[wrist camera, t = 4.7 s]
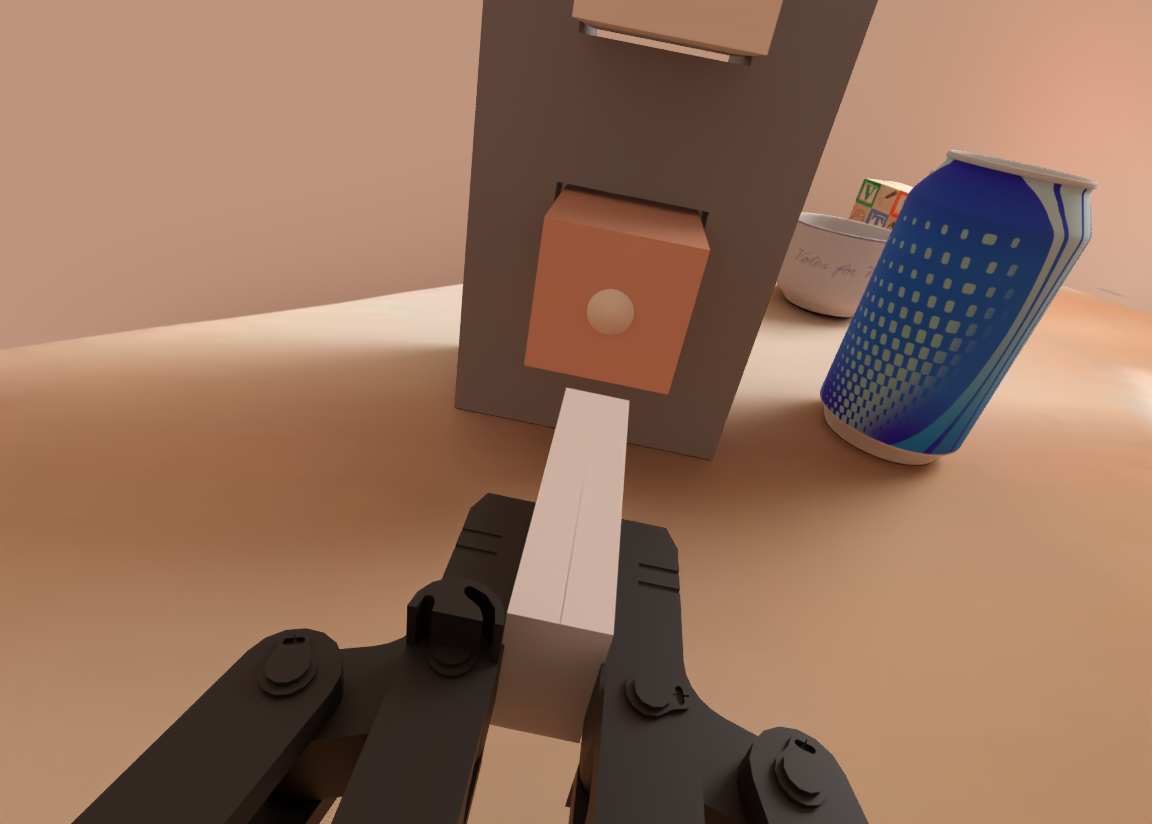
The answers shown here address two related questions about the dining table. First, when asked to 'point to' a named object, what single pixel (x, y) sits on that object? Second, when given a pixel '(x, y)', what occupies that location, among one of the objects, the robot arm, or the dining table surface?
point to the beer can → (953, 303)
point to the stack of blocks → (880, 202)
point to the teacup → (830, 263)
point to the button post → (642, 190)
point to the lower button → (615, 287)
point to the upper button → (688, 22)
